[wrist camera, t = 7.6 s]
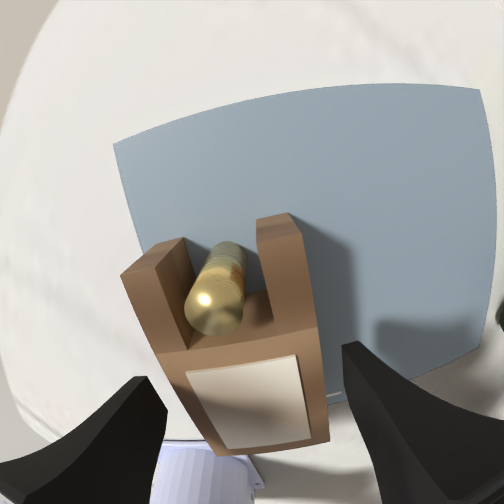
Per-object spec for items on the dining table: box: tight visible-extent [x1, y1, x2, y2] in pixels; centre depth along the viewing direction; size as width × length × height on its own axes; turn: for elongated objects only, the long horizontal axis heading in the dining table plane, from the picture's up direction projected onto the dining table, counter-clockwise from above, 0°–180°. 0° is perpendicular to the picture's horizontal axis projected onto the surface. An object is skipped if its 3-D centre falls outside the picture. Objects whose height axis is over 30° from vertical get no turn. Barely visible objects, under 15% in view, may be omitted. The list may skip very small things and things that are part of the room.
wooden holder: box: [120, 212, 330, 457], centre depth 11 cm, size 10×6×4 cm, turn 13°
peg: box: [184, 241, 247, 336], centre depth 9 cm, size 2×2×4 cm
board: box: [113, 83, 497, 405], centre depth 12 cm, size 16×18×1 cm
